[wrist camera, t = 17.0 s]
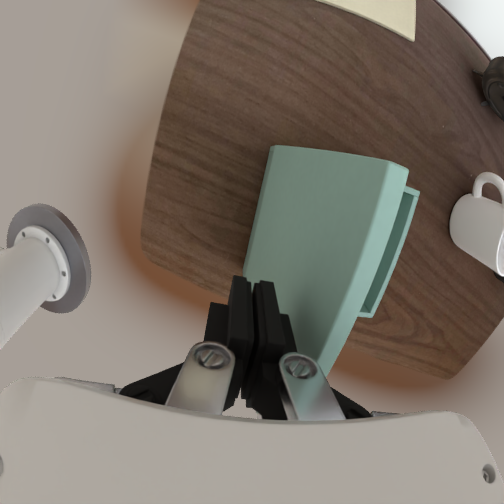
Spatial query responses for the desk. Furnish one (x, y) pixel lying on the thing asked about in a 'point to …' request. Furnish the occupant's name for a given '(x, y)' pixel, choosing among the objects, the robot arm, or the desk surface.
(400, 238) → the mint green open box
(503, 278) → the black round box
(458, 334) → the desk surface
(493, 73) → the alarm clock
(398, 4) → the mat
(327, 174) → the lid
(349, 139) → the desk surface
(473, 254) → the mug
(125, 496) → the robot arm
